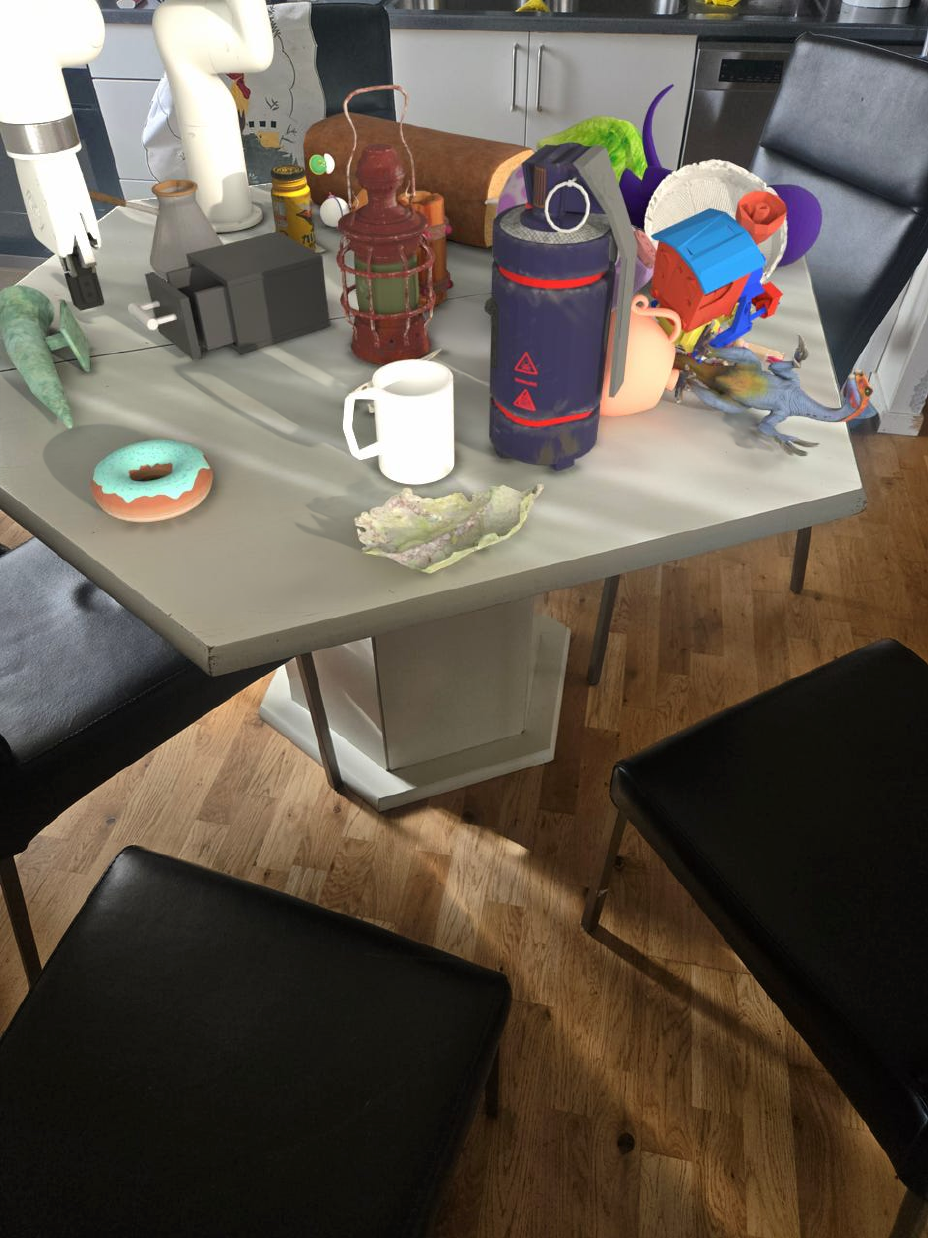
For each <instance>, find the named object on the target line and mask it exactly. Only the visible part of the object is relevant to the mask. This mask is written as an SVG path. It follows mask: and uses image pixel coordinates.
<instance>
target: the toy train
mask: <svg viewBox="0 0 928 1238" xmlns="http://www.w3.org/2000/svg"><path fill="white" fill-rule="evenodd" d="M786 213H787V209H786V204H785V203H784V202H783V201H782V200H781V199H780V197H779V196H777V195H775V194H772V193H770V192H764V191H754V192H751V193H748V194H746V195H744V196H743V197H742V198H741V200H740V201H739V202H738V204H737V210H736V215H735V219H736V220H735V219H733V218H732V217H731V216H730V215H729V214H728V213H727V212H724V211H720V210H716V209H712V208H709V209H707V210H704V211H702V212H700V213H698V214H696V215H694V216H691V217H689V218H687V219H685V220H683V221H681V222H679V223H676V224H674V225H672V226H670V227H668V228H666V229H664V230H661V231H659V232H657V233H655V234H653V235H651V237H652V238H653V239H654V240H657V241H658V247H657V252H656V258H655V264H654V271H653V276H652V277H651V285H650V290H649V294H650V297H651V298H652V299H653V300H651V302H650V308H666V309H670V310H673V311H675V312H676V313H677V314H678V315H679V317H680V320H681V331H680V334H679V336H678V337H677V339H676V340H675V341H674V342H673V344H674V346H675V347H679V346H678V345H680V344H681V346H682V347H683V348H682V349H684V350H685V351H686V352H685V351H684V352H685V354H687V353H693V354H692V357H693V358H694V357H695V356H696V355H697V354H698V351H694V345H695V344H696V342H697V340H698V338H699V336H700V335H701V333H702V332H703V330H704V328H705V326H706V325H707V324H710V323H711V319H715V325H714V327H713V329H712V331H711V332H714V331H718V329H719V327H720V326H721V324H724V323H726V322H727V325H728V326H729V327H728V328H726V329H724V331H723V332H721V333H719V334H718V335H716V337H715V338H714V339H713V340H711V341H710V342H709V343H708V344H709V346H711V347H714V348H722V347H725V346H727V345H728V344H730V343H731V342H733V341H735V340H736V339H738V338H741V337H743V336H744V335H746V334H748V333H749V332H751V331H752V328H753V322H752V321H754V320H756V319H757V318H761V319H763V320H765V319H767V318H770V317H773V316H775V314H776V312H777V309H778V306H779V305H780V304H781V302H780V300H781V297H783V296H784V293H783V292H782V291H781V290H780V289H779V288H778V287H777V286H776V285H775V284H774V283H773V282H772V281H771V280H770V281H768V282H765V283H762V285H761V283H760V280H761V278H762V276H763V266H765V265H766V263H765V260H766V258H765V257H764V255H763V254H761V252H760V250H759V248H758V247H757V245H758V244H759V243H761V242H764V241H765V240H767V239H768V238H769V237H770V236H771V235H772V234H773V233H775V232H776V231H777V230H778V229H779V228H780V227H781V226H782V224H783V223H784V220H785V217H786ZM752 305H753V306H754V307H755V311H754V308H753V307H752ZM753 311H754V312H753ZM655 318H656V319H657V320H658V324H659V325H660V327H661V328H662V329H663V330H664V331H665V333H666V334H667V335H668V336H670V335H671V333H672V332H673V330H674V327H675V323H674V321H673V320H672V319H669V318H666V317H659V316H655ZM694 359H695V358H694ZM707 359H708V358H707V357H704V356H701V357H700V359H695V360H696V362H697V363H698V364H699V363H700V362H702V361H705V360H707Z"/></svg>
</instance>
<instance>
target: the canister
mask: <svg viewBox="0 0 928 1238" xmlns="http://www.w3.org/2000/svg"><path fill="white" fill-rule="evenodd" d="M521 164H522V170H523V177H524V183H525V189H526V196H527V203H525V204H520V205H516V206H513V207H510V208H508V209H506V210H504V211H502V212H501V213H499V214H498V215H497V216H496V218H495V219H494V220H493V242H492V246H491V247H492V248H491V250H492V251H491V257H492V260H493V261H492V265H491V297H490V298H491V315H490V351H489V352H490V355H489V356H490V358H489V359H490V360H489V394H490V397H489V424H488V428H489V429H488V432H489V433H488V434H489V435H488V436H489V440H490V443H491V444H492V445H493V447H494V449H495V452H496V454H497V455H498V456H499V458H500V459H508V458H510V459H512V460H513V461H517V462H520V463H523V464H527V465H528V464H529V465H533V466H549V468H550V469H551V470H553V471H555V472H558V471H562V470H565V469H568V468H571V467H573V466H575V460H576V459H580V458H582V457H584V456H585V455H586V454H589V453H590V452H591V450H592V449H593V448H594V447H595V445H596V443H597V439H598V430H599V423H600V422H599V421H600V415H599V414H600V401H601V399H602V390H603V381H604V372H605V364H606V355H607V346H608V337H609V328H610V319H611V312H612V311H613V310H612V301H613V292H614V283H615V274H616V267H615V263H616V261H617V256H618V250H619V253H620V256H621V265H620V276H619V287H618V298H617V308H615V310H616V320H615V331H614V342H613V353H612V364H611V375H610V386H609V397H611V398H614V397H615V395H616V394H617V393H618V391H619V390H620V388H621V386H622V384H623V383H624V376H625V366H626V356H627V346H628V336H629V326H630V317H631V307H632V297H634V294H633V287H634V277H635V267H636V258H637V248H638V245H637V242H636V238H635V235H634V232H633V229H632V226H633V225H631V222H630V219H629V216H628V212H627V209H626V206H625V203H624V199H623V196H622V193H621V191H620V188H619V185H618V182H617V179H616V176H615V173H614V170H613V167H612V164H611V161H610V158H609V155H608V152H607V149H606V147H604V146H599V145H593V146H583V145H582V144H580V143H575V142H569V143H564V144H559V145H545V146H543V147H542V148H541V149H539V150H538V151H537V150H536V151H535V153H534V154H533V155H532V156H530V157H529V158H528V159H526V160H525V161H524V162H523V163H521ZM611 310H612V311H611Z"/></svg>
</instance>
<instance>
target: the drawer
mask: <svg viewBox="0 0 928 1238" xmlns="http://www.w3.org/2000/svg"><path fill="white" fill-rule="evenodd" d="M166 276H167V280H166V279H164V278H162V277H161V276H159V275H158V274H157V273H156V272H155V271H151V272H147V273H145V274H144V277H145V282H146V285H147V289H148V294H149V298H150V301H151V302H147V303H146V302H145V303H142V304H139V305H138V304H137V303H135V302H132V303H129V304H128V306H127V311H128V313H129V314H130V315H132V316H133V317H134V318H135V319H137V320H138V321H139V322H140V323H141V324H143V325H144V326H145V327H146V328H147V329H149V330H150V331H155V330H158V333H160V334H161V335H162V336H163V337H164V338H165V339H167V340H168V341H169V342H170V343H172V344H173V345H174V346H175V347H176V348H178V349H179V350H180V351H182V353H184V354H185V355H186V356H187V357H188V358H190V359H191V360H192V361H194V360H198V359H201V358H202V352H201V349H200V345H201V346H202V347H204V349H206V350H207V351H212V350H214V349H217V348H221V347H225V346H228V345H227V344H231V343H234V342H236V338H235V333H234V328H233V322H232V317H231V312H230V306H229V301H228V295H227V290H226V286H225V285H224V284H222V283H221V282H219V281H218V280H216V279H215V278H213V277H212V276H210V275H209V274H207V273H206V272H205V271H203V270H202V269H200V268H199V267H197V266H196V265H192V266H189V267H185V268H181V269H177V270H173V271H169V272H166ZM151 309H152V310H153V314H154V317H153V316H152V315H151V314H150V313H148V311H147V310H151Z"/></svg>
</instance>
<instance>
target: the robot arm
mask: <svg viewBox="0 0 928 1238" xmlns="http://www.w3.org/2000/svg"><path fill="white" fill-rule="evenodd" d="M151 26H152V28H151V29H152V35H153V40H154V42H155V46H156V49H157V52H158V54H159V57H160V59H161V63H162V65H163V69H164V71H165V75H166V78H167V82H168V86H169V89H170V93H171V97H172V102H173V107H174V111H175V116H176V122H177V127H178V132H179V137H180V141H181V147H182V152H183V156H184V161H185V162H184V163H185V167H186V172H187V177H188V181H193V182H195V183H196V184H197V185H198V189H197V190H196V201H197V203H198V205H199V206H200V208H201V209H202V211H203V213H204V214H205V216H206V217H207V219H208V221H209V222H210V224H211V225H212V227H213V229H214V230H215V232H216V233H232V232H238V231H243V230H247V229H250V228H252V227H254V226H256V225H258V224H259V223H260V222H262V221H263V210H262V208H260V206H258V205H256V204H253V203H252V198H251V191H250V185H249V184H250V183H249V178H248V173H247V166H246V161H245V160H246V159H245V153H244V145H243V140H242V135H241V128H240V122H239V121H240V120H239V114H238V107H237V103H236V101H235V99H234V97H233V95H232V92H231V91H230V89H229V88H228V87H227V85H226V84H225V83H224V81H222V79H221V78H220V77H219V75H218V74H258V73H263V72H264V71H266V70H267V69H268V68H269V67H270V66H271V65H272V63H273V60H274V53H275V51H274V49H275V46H274V35H273V28H272V24H271V20H270V15H269V11H268V6H267V1H266V0H164V1H162V2H161V3H160V4H158V5H157V6H156V8H155V10H154V12H153V14H152V20H151ZM105 38H106V28H105V21H104V17H103V13H102V11H101V8H100V6H99V4H98V3H97V1H96V0H0V136H1V139H2V142H3V145H4V149H5V152H6V154H7V157H9V158H12V159H13V162H14V167H15V170H16V175H17V180H18V184H19V187H20V190H21V196H22V199H23V202H24V206H25V210H26V213H27V217H28V220H29V224H30V228H31V231H32V232H33V235H34V237H35V239H36V240H37V241H38V242H40V243H41V244H42V245H43V246H44V247H46V249H48V250H50V251H51V252H52V253H53V254H55V255H56V256H57V257H58V259H59V262H60V265H61V267H62V270H63V271H64V273H63V275H64V278H65V281H66V285H67V288H68V291H69V295H70V298H71V302H72V304H73V306H74V307H75V308H77V310H78V311H81V312H82V311H86V310H90V309H93V308H97V307H101V306H104V304H105V298H104V294H103V291H102V289H101V288H102V287H101V284H100V281H99V280H100V279H99V278H98V277H99V276H98V273H97V269H96V266H97V264H98V263H97V260H96V256H95V255H94V252H93V250H96V251H98V250H100V249H101V247H102V238H101V231H100V228H99V224H98V220H97V217H96V212H95V210H94V206H93V202H92V199H90V196H89V193H88V186H87V183H86V181H85V178H84V173H83V172H82V171H83V170H82V169H81V165H80V162H79V159H78V157H77V154H76V153H79V152H80V151H81V149H82V143H81V139H80V135H79V131H78V128H77V124H76V120H75V116H74V113H73V108H72V104H71V100H70V97H69V93H68V89H67V85H66V81H65V77H64V74H63V71H62V69H65V68H73V67H82V66H85V65H88V64H90V63H92V62H93V61H95V60H96V58H98V57H99V55H100V53H101V51H102V50H103V46H104V44H105Z"/></svg>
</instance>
